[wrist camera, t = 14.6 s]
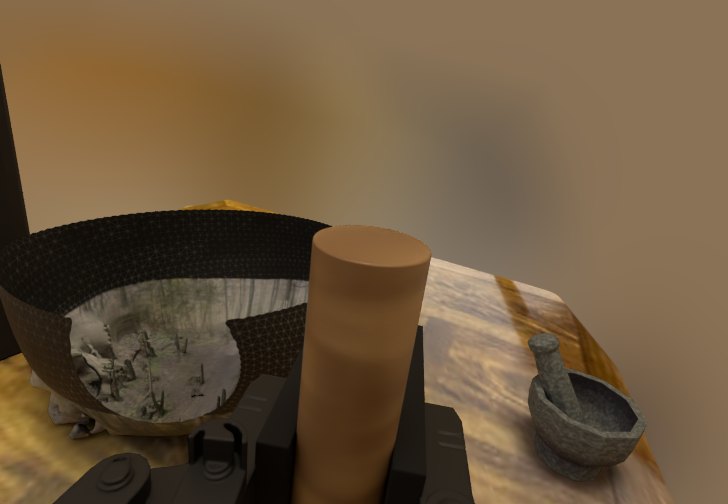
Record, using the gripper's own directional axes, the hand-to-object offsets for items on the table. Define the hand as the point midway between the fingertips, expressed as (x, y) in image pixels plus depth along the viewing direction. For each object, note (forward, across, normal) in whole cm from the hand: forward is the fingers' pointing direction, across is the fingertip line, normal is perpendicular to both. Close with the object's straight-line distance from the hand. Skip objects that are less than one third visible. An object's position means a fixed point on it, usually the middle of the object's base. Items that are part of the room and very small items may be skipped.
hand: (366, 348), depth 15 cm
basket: (+22, -16, -22) cm, 35 cm away
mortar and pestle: (+21, +20, -22) cm, 36 cm away
